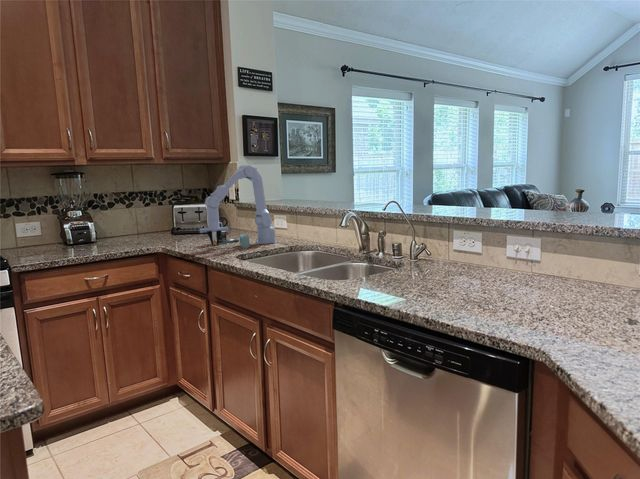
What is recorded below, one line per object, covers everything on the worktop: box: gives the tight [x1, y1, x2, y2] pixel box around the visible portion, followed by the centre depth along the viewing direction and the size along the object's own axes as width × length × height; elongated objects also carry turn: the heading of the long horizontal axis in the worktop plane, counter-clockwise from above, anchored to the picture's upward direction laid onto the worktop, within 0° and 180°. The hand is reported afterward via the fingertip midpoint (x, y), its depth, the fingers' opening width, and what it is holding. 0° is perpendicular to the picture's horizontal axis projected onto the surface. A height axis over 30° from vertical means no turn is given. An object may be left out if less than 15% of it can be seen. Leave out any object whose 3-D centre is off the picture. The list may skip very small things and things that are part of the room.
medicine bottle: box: [207, 221, 228, 246], centre depth 258 cm, size 7×7×12 cm
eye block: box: [239, 233, 250, 249], centre depth 248 cm, size 4×10×6 cm, turn 15°
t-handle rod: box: [213, 238, 240, 247], centre depth 246 cm, size 14×9×3 cm, turn 105°
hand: (215, 245), depth 241 cm, fingers closed on t-handle rod, 2 cm apart
